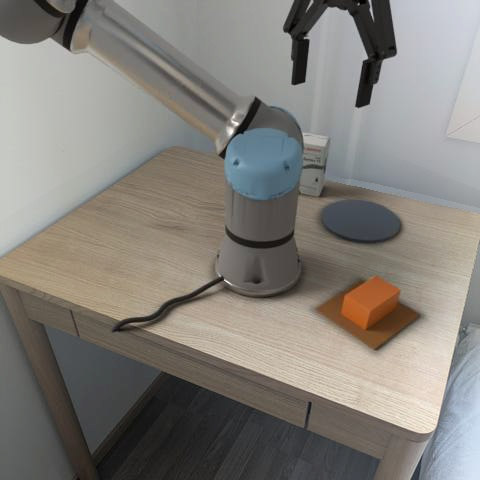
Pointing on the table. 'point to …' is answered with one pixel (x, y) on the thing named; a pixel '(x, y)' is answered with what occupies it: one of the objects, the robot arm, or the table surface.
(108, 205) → the table surface
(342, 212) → the plate
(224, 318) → the table surface
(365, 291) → the orange rectangular block
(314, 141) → the ink box
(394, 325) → the cork mat
